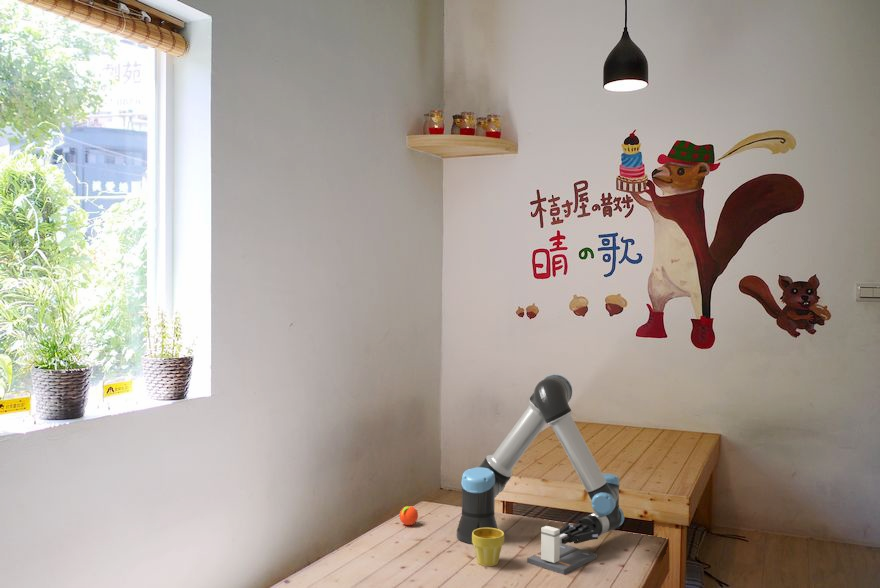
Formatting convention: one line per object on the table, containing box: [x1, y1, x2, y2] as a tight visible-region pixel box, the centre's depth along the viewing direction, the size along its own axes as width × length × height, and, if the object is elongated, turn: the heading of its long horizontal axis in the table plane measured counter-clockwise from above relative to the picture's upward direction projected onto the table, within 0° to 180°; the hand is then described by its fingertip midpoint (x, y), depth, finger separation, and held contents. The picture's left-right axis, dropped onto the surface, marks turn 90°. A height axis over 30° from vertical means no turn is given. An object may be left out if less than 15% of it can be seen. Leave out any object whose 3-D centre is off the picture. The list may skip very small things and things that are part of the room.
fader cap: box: [540, 525, 561, 563], centre depth 237 cm, size 5×3×10 cm, turn 46°
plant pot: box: [472, 528, 505, 567], centre depth 240 cm, size 10×10×10 cm
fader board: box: [526, 544, 598, 575], centre depth 242 cm, size 14×19×2 cm
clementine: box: [399, 505, 419, 526], centre depth 276 cm, size 8×7×7 cm
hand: (553, 542), depth 238 cm, fingers closed
